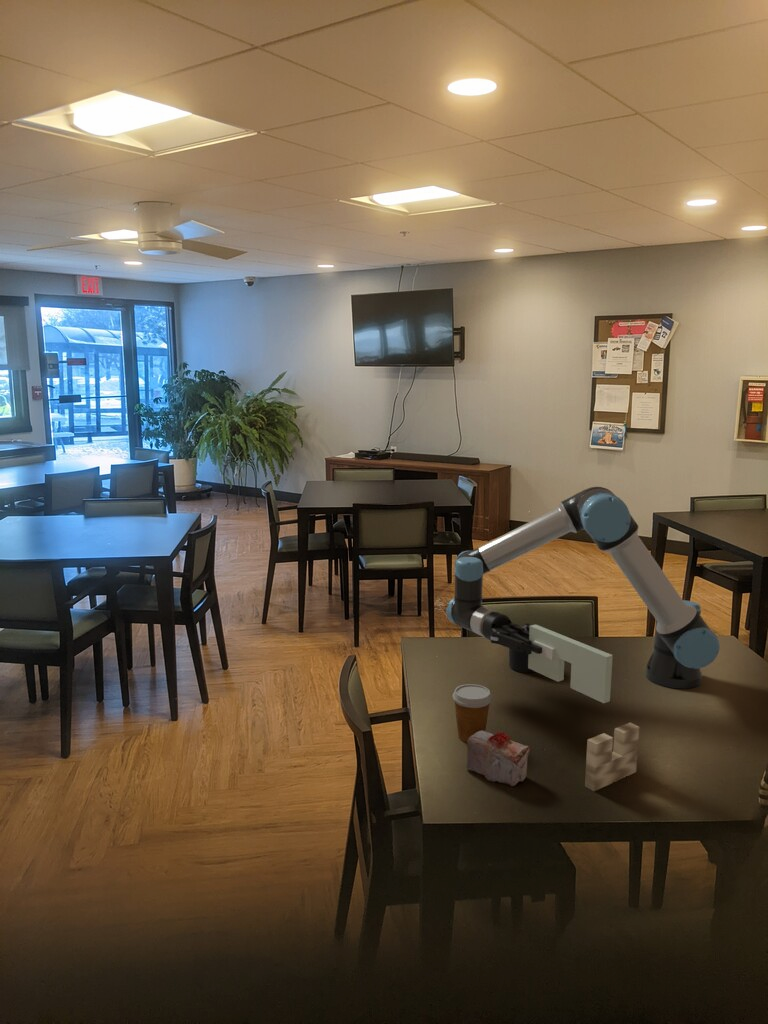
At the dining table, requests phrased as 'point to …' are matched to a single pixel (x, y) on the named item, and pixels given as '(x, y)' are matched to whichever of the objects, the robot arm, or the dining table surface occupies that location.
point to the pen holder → (519, 661)
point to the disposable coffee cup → (471, 709)
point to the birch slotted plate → (611, 756)
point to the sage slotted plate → (573, 663)
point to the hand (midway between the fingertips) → (557, 653)
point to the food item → (497, 757)
